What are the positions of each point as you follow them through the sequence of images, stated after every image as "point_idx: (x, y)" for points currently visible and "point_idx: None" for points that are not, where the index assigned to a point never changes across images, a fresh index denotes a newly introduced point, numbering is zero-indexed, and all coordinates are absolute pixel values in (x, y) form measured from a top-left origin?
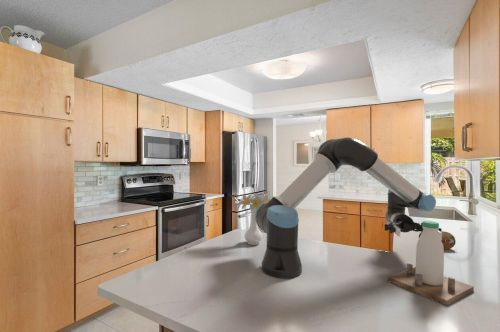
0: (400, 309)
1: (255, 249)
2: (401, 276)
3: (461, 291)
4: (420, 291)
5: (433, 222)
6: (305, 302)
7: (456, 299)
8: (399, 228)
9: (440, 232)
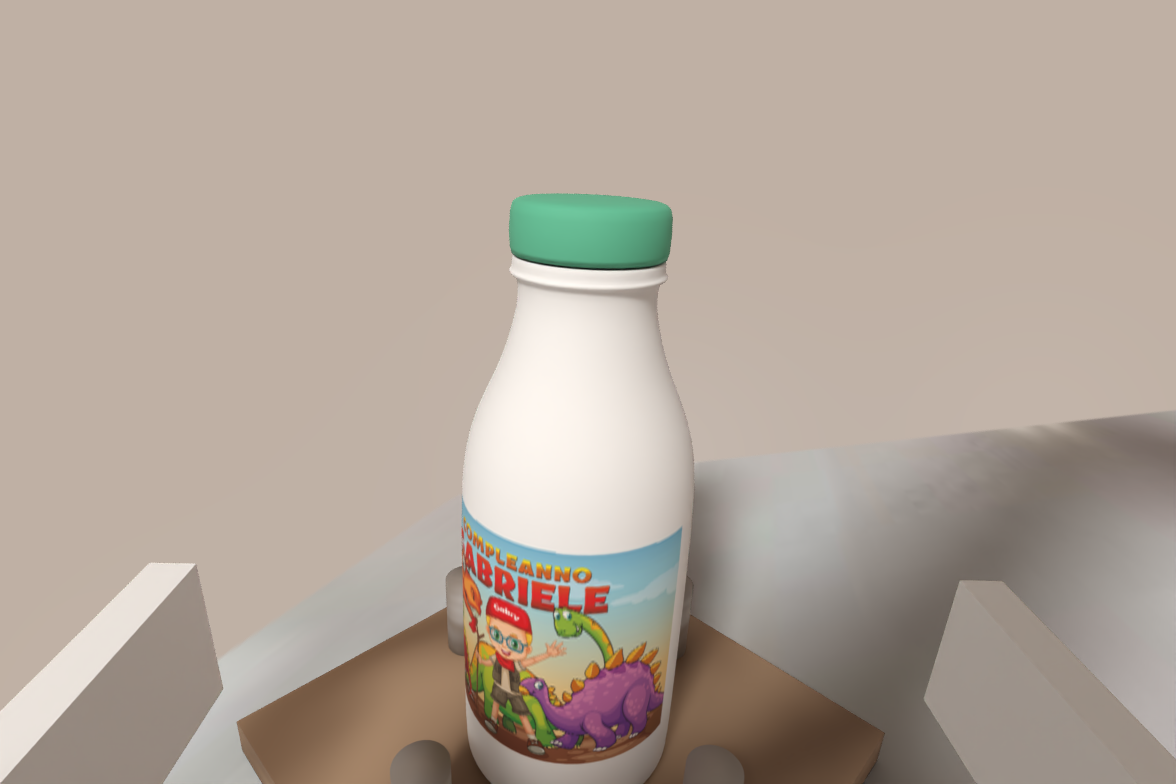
0: (770, 513)
1: None
2: (777, 766)
3: (416, 631)
4: None
5: (567, 195)
6: (1096, 496)
7: None
8: (1003, 627)
9: (179, 565)
